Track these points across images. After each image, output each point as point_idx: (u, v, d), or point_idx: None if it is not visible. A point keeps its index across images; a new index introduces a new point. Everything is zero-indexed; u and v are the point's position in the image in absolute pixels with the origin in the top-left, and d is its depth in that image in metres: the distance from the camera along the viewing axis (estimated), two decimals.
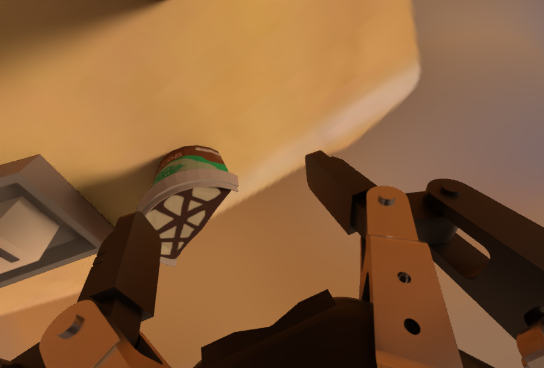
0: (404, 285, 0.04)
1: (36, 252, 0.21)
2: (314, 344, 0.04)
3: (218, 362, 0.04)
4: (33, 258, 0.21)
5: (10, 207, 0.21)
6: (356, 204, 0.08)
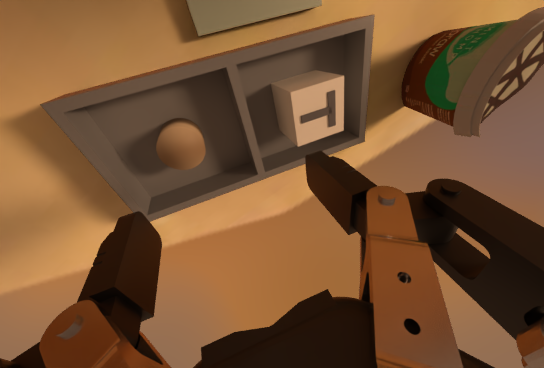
0: (404, 285, 0.04)
1: None
2: (314, 344, 0.04)
3: (218, 362, 0.04)
4: (342, 126, 0.20)
5: (323, 72, 0.20)
6: (356, 205, 0.08)
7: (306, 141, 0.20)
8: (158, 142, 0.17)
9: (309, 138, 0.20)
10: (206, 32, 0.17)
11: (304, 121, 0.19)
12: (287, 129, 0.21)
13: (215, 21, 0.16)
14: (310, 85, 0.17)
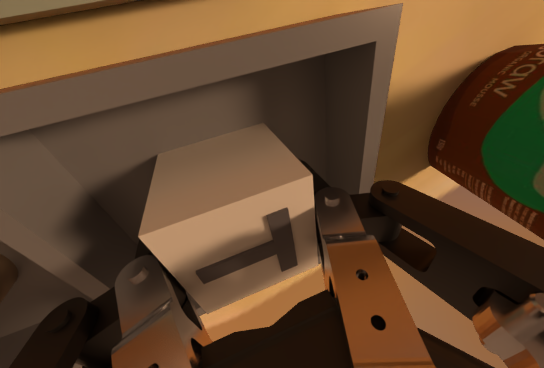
0: (363, 281, 0.04)
1: None
2: (314, 344, 0.04)
3: (218, 362, 0.04)
4: (314, 260, 0.09)
5: (273, 137, 0.09)
6: None
7: (227, 301, 0.08)
8: None
9: (235, 295, 0.08)
10: None
11: (210, 278, 0.07)
12: None
13: None
14: (210, 206, 0.06)
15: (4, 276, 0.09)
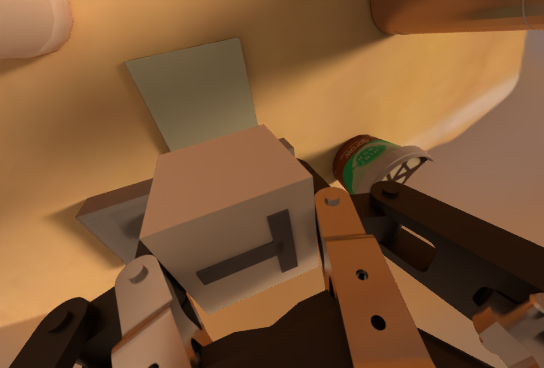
0: (363, 282, 0.04)
1: None
2: (314, 344, 0.04)
3: (218, 362, 0.04)
4: (314, 261, 0.09)
5: (273, 138, 0.09)
6: None
7: (228, 302, 0.08)
8: None
9: (235, 296, 0.08)
10: None
11: (210, 279, 0.07)
12: None
13: None
14: (211, 208, 0.06)
15: None
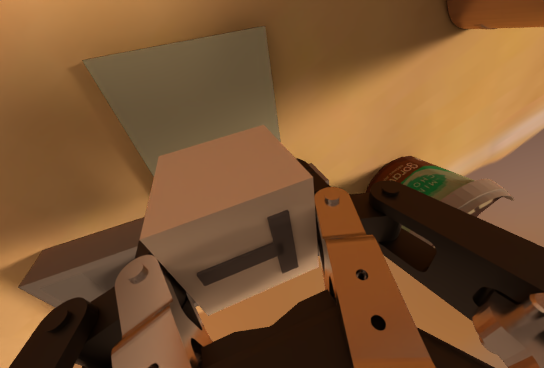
0: (363, 282, 0.04)
1: None
2: (314, 344, 0.04)
3: (218, 362, 0.04)
4: (314, 262, 0.09)
5: (273, 139, 0.09)
6: None
7: (228, 303, 0.08)
8: None
9: (235, 297, 0.08)
10: None
11: (210, 281, 0.07)
12: None
13: None
14: (211, 209, 0.06)
15: None
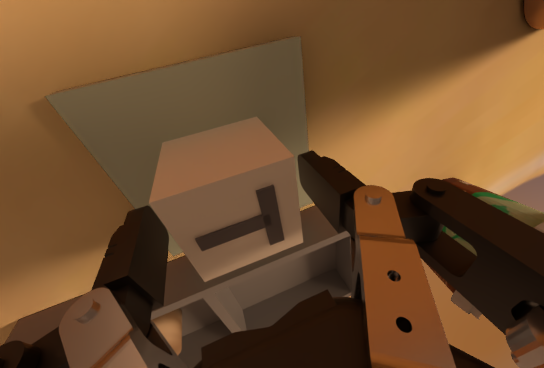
0: (394, 283, 0.04)
1: None
2: (314, 344, 0.04)
3: (218, 362, 0.04)
4: (299, 237, 0.10)
5: (264, 127, 0.10)
6: (345, 204, 0.08)
7: (222, 271, 0.10)
8: None
9: (229, 266, 0.09)
10: (182, 251, 0.15)
11: (207, 246, 0.08)
12: None
13: None
14: (208, 180, 0.07)
15: (181, 318, 0.19)
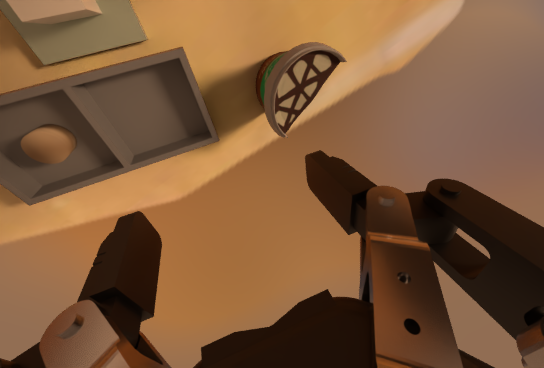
0: (404, 285, 0.04)
1: (83, 1, 0.18)
2: (314, 344, 0.04)
3: (218, 362, 0.04)
4: (81, 3, 0.18)
5: None
6: (356, 204, 0.08)
7: (32, 15, 0.17)
8: (22, 143, 0.24)
9: (34, 11, 0.17)
10: (50, 62, 0.23)
11: None
12: None
13: (54, 54, 0.22)
14: None
15: (74, 140, 0.27)
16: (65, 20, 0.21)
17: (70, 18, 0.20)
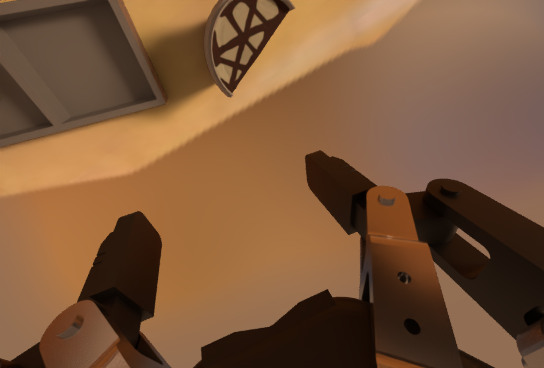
0: (404, 285, 0.04)
1: None
2: (314, 344, 0.04)
3: (218, 362, 0.04)
4: None
5: None
6: (356, 204, 0.08)
7: None
8: None
9: None
10: None
11: None
12: None
13: None
14: None
15: None
16: None
17: None
